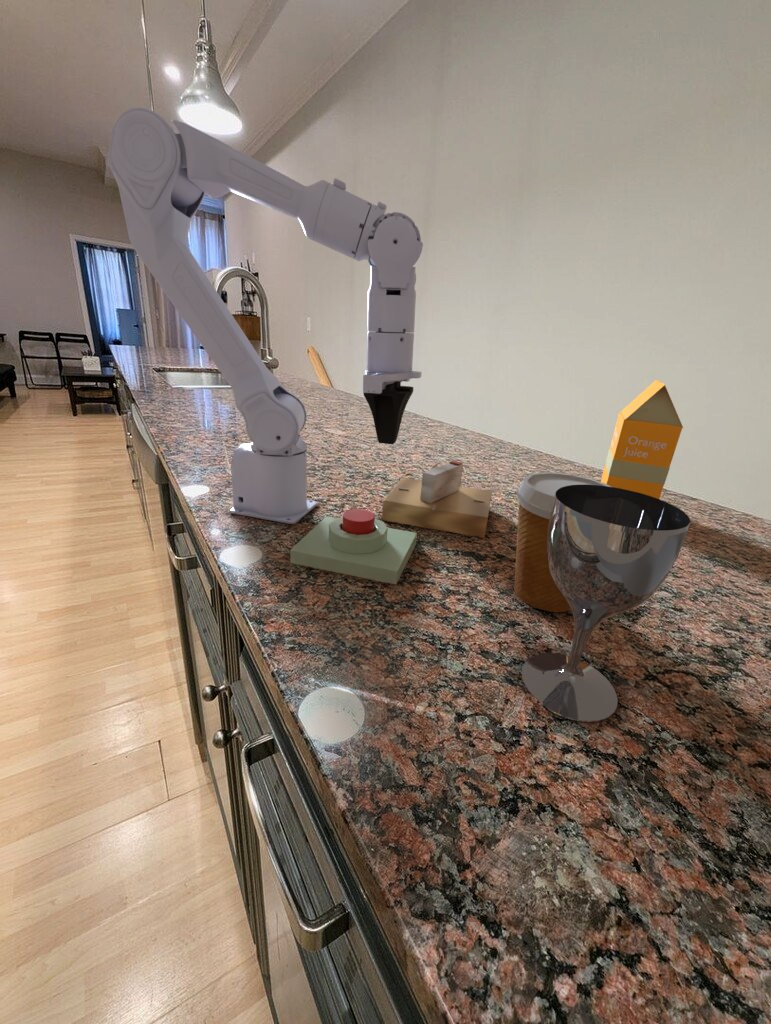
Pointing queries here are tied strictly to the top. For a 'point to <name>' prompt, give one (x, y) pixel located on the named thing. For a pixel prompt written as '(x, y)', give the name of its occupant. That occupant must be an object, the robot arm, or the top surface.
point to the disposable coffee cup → (539, 539)
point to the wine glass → (600, 583)
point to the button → (358, 522)
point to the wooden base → (438, 509)
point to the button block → (356, 550)
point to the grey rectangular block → (441, 481)
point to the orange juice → (643, 443)
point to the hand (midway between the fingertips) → (387, 442)
